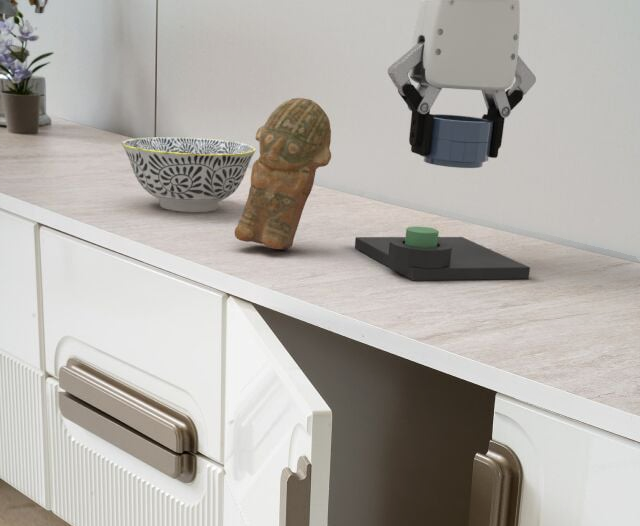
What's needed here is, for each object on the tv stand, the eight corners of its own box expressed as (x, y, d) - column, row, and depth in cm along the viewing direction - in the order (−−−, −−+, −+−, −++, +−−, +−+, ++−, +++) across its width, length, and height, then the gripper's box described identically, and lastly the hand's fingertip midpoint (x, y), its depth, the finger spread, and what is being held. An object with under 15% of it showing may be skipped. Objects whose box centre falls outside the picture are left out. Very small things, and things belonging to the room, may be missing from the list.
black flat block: (461, 247, 126) (464, 220, 125) (529, 279, 114) (533, 249, 112) (345, 248, 121) (347, 220, 120) (402, 281, 109) (405, 250, 107)
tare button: (428, 243, 113) (430, 226, 113) (442, 250, 110) (444, 232, 110) (399, 244, 112) (401, 226, 111) (412, 250, 109) (414, 232, 109)
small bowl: (467, 159, 120) (472, 115, 119) (499, 169, 114) (505, 123, 113) (408, 157, 118) (412, 112, 116) (437, 167, 112) (442, 120, 110)
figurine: (230, 251, 116) (236, 97, 110) (257, 238, 123) (264, 93, 117) (308, 261, 114) (318, 106, 108) (331, 247, 121) (341, 101, 115)
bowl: (98, 208, 133) (97, 142, 130) (156, 191, 147) (157, 131, 144) (223, 225, 128) (226, 157, 126) (271, 206, 142) (274, 145, 140)
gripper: (534, -27, 115) (509, 152, 122) (378, -42, 109) (362, 147, 116) (573, -27, 109) (545, 162, 116) (410, -43, 103) (391, 158, 110)
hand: (454, 153), depth 116 cm, fingers closed on small bowl, 7 cm apart
